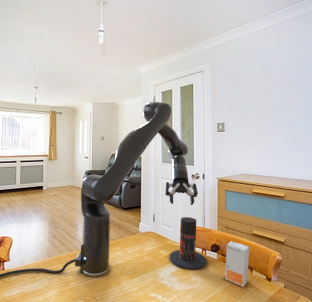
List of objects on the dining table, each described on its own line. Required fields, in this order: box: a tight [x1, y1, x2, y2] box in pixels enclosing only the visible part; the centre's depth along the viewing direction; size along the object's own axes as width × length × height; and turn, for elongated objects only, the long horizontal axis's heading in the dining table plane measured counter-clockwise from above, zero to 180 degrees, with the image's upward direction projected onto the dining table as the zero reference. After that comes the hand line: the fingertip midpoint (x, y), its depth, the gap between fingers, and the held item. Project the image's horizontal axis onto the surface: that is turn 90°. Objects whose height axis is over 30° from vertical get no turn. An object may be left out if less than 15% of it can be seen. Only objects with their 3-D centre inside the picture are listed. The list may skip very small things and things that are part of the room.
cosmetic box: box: [224, 240, 250, 288], centre depth 75 cm, size 6×4×12 cm
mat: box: [169, 249, 208, 271], centre depth 88 cm, size 14×14×1 cm
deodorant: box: [179, 216, 197, 261], centre depth 88 cm, size 6×6×15 cm
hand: (182, 203), depth 98 cm, fingers open, 8 cm apart
